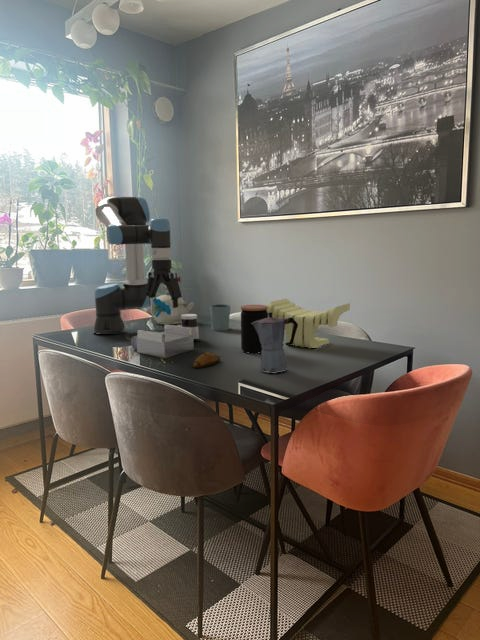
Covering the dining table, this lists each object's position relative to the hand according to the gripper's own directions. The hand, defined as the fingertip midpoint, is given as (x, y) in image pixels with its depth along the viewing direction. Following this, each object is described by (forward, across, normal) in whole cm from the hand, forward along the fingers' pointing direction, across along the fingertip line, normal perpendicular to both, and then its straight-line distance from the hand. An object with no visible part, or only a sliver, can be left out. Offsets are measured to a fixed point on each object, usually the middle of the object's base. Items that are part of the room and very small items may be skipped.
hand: (164, 314), depth 187 cm
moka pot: (+15, +52, +1) cm, 54 cm away
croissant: (+15, +28, -6) cm, 32 cm away
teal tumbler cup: (+15, -11, +48) cm, 52 cm away
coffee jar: (+15, +30, +20) cm, 39 cm away
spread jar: (+15, -7, +19) cm, 25 cm away
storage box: (+16, -3, 0) cm, 16 cm away
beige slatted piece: (+15, +42, +41) cm, 61 cm away
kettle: (+15, -46, +49) cm, 69 cm away
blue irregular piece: (+1, 0, 0) cm, 1 cm away
